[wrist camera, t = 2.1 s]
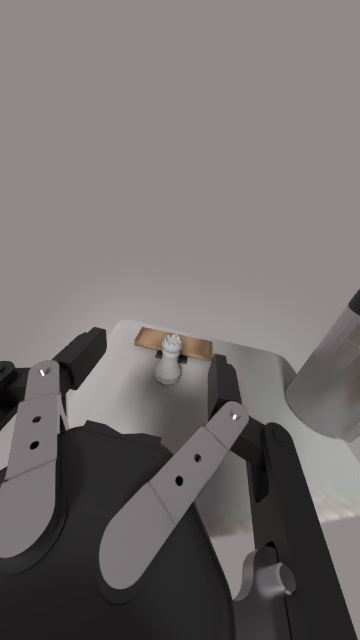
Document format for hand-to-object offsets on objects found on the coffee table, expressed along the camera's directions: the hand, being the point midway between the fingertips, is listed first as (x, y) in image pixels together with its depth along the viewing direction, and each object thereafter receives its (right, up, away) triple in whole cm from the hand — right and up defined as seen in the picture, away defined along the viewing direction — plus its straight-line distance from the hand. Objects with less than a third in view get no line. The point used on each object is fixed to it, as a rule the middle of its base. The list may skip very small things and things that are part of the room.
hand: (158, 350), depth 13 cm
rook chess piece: (-1, -8, +18) cm, 19 cm away
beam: (+1, -2, +23) cm, 23 cm away
